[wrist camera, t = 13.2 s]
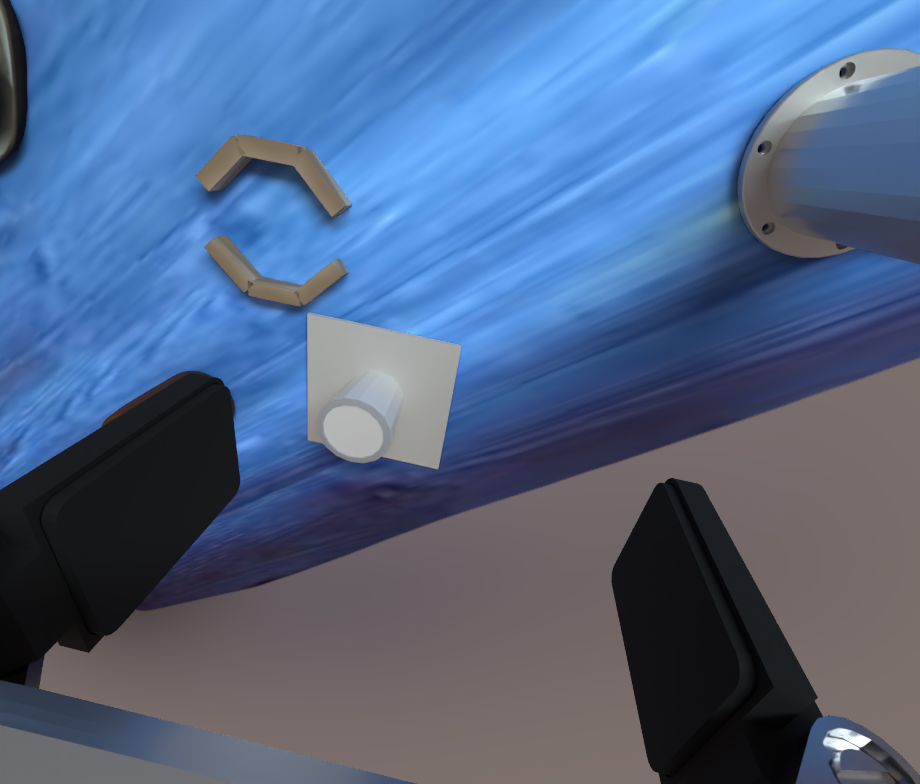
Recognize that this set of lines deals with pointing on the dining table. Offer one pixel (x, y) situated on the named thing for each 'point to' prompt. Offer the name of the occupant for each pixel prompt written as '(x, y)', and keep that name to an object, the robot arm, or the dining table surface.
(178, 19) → the dining table surface
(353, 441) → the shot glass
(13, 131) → the salad plate
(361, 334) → the rubber mat
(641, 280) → the dining table surface
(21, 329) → the dining table surface
